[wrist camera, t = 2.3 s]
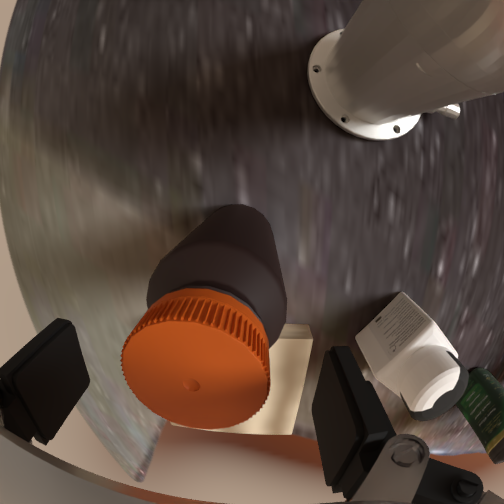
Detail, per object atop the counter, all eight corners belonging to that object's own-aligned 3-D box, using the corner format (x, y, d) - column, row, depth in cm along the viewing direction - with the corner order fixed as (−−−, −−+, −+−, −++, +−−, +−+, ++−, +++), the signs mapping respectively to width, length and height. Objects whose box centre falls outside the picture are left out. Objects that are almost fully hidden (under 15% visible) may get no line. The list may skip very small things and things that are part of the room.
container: (429, 324, 29) (484, 385, 17) (386, 365, 31) (425, 437, 19) (400, 289, 28) (465, 352, 16) (352, 336, 30) (392, 417, 17)
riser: (308, 324, 29) (313, 339, 27) (289, 418, 34) (291, 434, 31) (163, 314, 30) (154, 327, 27) (176, 409, 34) (171, 424, 31)
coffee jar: (444, 397, 33) (490, 473, 16) (474, 361, 31) (532, 431, 14) (466, 404, 34) (508, 467, 17) (493, 372, 32) (542, 431, 15)
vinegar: (189, 239, 27) (69, 364, 8) (236, 188, 26) (171, 231, 7) (238, 285, 28) (208, 461, 9) (287, 238, 27) (345, 384, 8)
